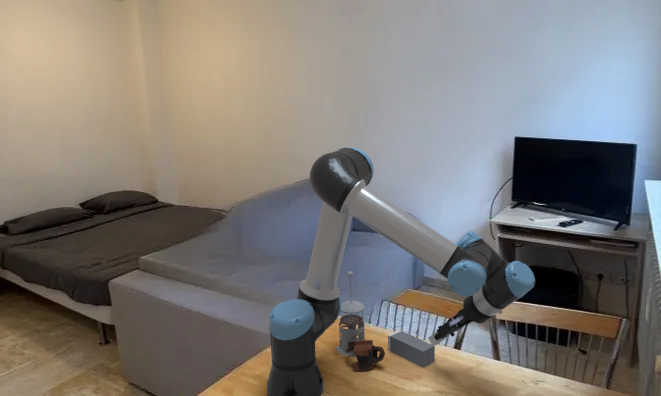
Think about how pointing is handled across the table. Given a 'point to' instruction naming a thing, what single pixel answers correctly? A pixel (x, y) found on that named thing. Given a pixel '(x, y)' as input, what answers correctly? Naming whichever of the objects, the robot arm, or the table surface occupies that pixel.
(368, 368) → the pottery mug
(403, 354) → the grey rectangular block
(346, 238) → the robot arm
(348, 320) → the french press
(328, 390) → the table surface
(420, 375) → the table surface
